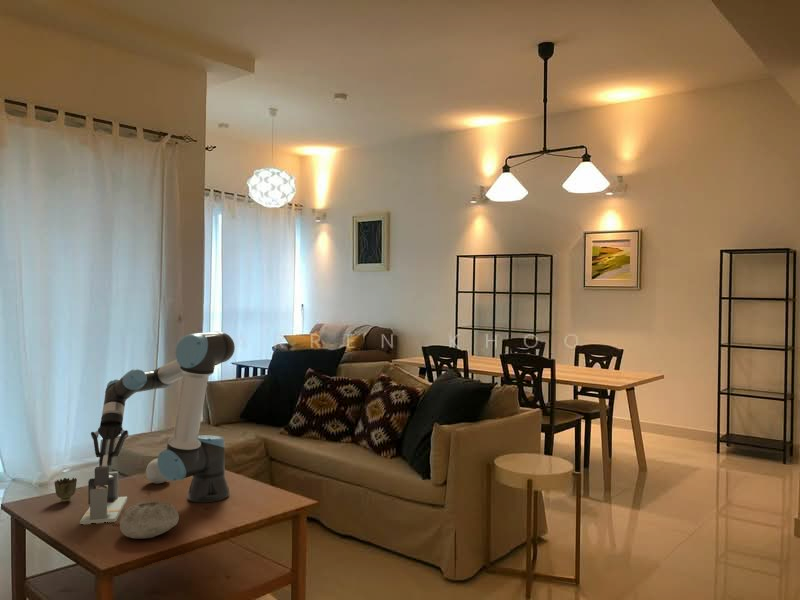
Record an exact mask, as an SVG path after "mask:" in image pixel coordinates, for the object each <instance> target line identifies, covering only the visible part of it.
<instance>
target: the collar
mask: <svg viewBox="0 0 800 600" xmlns="http://www.w3.org/2000/svg"><path fill="white" fill-rule="evenodd" d="M109 472H110V466H103V467H102V466H96V467H95V468H94V478H89V480H88V483H87V484H88V486H87V487H88V489H87V490H88V491H87V492H88V496H87V497H88V499H87V500H88V503H87V504H88V505H90V490H91V489H97V486H98V487H99V486H101V485H108V495H107V503H112V502H114V501H115V477H109Z"/></svg>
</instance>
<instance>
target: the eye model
mask: <svg viewBox="0 0 800 600" xmlns="http://www.w3.org/2000/svg"><path fill="white" fill-rule="evenodd" d="M157 461H158V458H154V459H152V460H151V461H150V462H149V463H148V464H147V466H146V469H145V476H146V478H147V479H148V480H149V481H150V482H151V483H153V484H163V483H165V482H167V481H168V480H167V479H166V478H164V477H163V475H162V474H161V472H160V470H159V468H158V462H157Z"/></svg>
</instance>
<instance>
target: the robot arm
mask: <svg viewBox="0 0 800 600" xmlns="http://www.w3.org/2000/svg"><path fill="white" fill-rule="evenodd" d="M175 347H176V348H175V354H174V355H175V358H176V359H175V360H172V361H170V362H168V363H166V364H164V365H162V366H159V367H158V368H156V369H151V370H146V371H145V370H142V369H139V368H132V369H130V370H129V371H127V372H126V373H125V374H124V375H123V376H122V377H121V378H120V379H117V378H116V379H114V380H110V381H109V382H108V383H107V384H106V389H105V392H104V393H105V394H104V400H103V407H102V412H101V418H100V423H99V427H98V429H97V430H96V431H91V432H90V435H91V436H90V437H91V438H92V440H93V445H94V446H93V447H94V454H95V457H96V458H99V467H103V466H109V467H111V466H112V464H113V463H112V462H113V458H114V457H118V456H119V454H120V452H121V450H122V448H123V445H124V443H125V440H126V439H127V438H128V437H129V431H128V430H127V429H126V430H125V429H124V428H123V421H124V414H125V407H126V406H125V405H126V402H127V400H128V399H129V398H131V396H133V395H134V394H135V393H140V392H145V391H146V392H147V391H151V390H158V389H165V388H167V387H170V386H171V385H172V384H173V383H175V382H176V381H178V380H180V379H182V381H181V387H180V393H179V398H178V403H177V404H178V406H177V411H176V417H175V423H174V429H173V435H172V436H171V437H170V438H169V439H168V440H167V443H166V449H163V450H162V451H161V452H160V453H159V454H158V457H157V459H158V461H157V462H158V468H159V470H160V472H161V474H162V475H163V477H164V478H166V479H167V480H166V481H168V482H169V481H170V482H176V481H177V482H178V481H183V480H185V479H187V478H190V477H192V479H191V483H190V485H189V489H188V493H187V500H189V501H191V502H193V503H200V504H201V503H203V504H204V503H213V502H218V501H222V499H223V500H225V499H227V498H228V497H230V487H229V485H228V481H227V479H226V476H225V474H226V473H225V465H226V462H225V461H226V457H225V456H226V454H225V451H226V450H225V449H226V447H225V440H224V438H223V437H222V436H219V435H210V434H209V435H205V434H204V435H203V434H202V435H200V434H199V433H200V428H201V421H202V415H203V410H204V404H205V400H206V399H205V398H206V392H207V387H208V381H209V378H210V376H211V375H213V374H214V373H215V366H217V365H220V364H222V363H223V364H224V363H225V362H227V361H229V360H230V359H231V358H232V357H233V355H234V353H235V342H234V339H233V338H232V337H231V336H230V335H229V334H227V333H226V332H223V331H210V332H194V333H189V334H186V335H184V336H183V337H182V338H180V340H179V341H178V342H177V345H176V346H175ZM99 435H100V437H101V438H102V442H101V447H99V441H98V438H99ZM118 437H119V438H118ZM117 438H118V442H117V443H116V439H117ZM108 443H109V446H108ZM115 445H116V446H115ZM107 447H108V452H107ZM106 453H107V454H106ZM226 497H227V498H226ZM224 498H225V499H224Z"/></svg>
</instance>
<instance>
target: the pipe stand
mask: <svg viewBox="0 0 800 600" xmlns="http://www.w3.org/2000/svg"><path fill="white" fill-rule="evenodd" d="M109 477H115V501H114V502H112V503H107V495H108V485H101V486H98V487H97V488H96V489H91V490H90V504H89V508H88V509H87V510H86V511H85V513H84V515H83V516H82V518H81V519H80V521H79V525H80V524H83V525H92V524H91V523H96V524H105V523H104V522H106V524H107V522H108V523H116V522H115V521H117V520H118V518H119V516H120V514H121V512H122V510H123V508H124V507H125V504H126V503H127V501H128V496H119V471H109Z"/></svg>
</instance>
